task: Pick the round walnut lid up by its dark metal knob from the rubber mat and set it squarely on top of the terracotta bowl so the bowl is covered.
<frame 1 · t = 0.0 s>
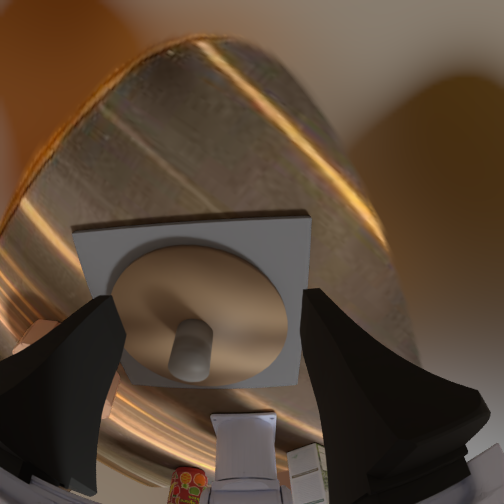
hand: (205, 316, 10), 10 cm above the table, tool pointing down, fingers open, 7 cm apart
syrup box: (309, 449, 37), on the table
mat: (196, 322, 23), on the table
smoothie: (190, 469, 41), on the table
lid: (196, 326, 23), resting on mat
bowl: (71, 362, 26), on the table
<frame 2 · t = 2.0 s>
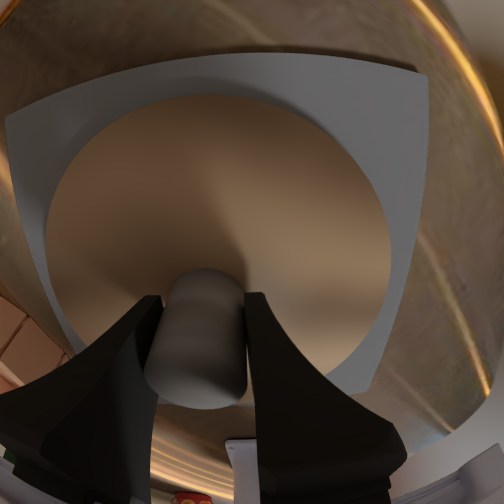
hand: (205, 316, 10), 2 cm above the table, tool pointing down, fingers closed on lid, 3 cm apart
mat: (210, 283, 12), on the table
smoothie: (193, 494, 30), on the table
lid: (209, 290, 12), resting on mat, touching gripper
bowl: (19, 357, 15), on the table
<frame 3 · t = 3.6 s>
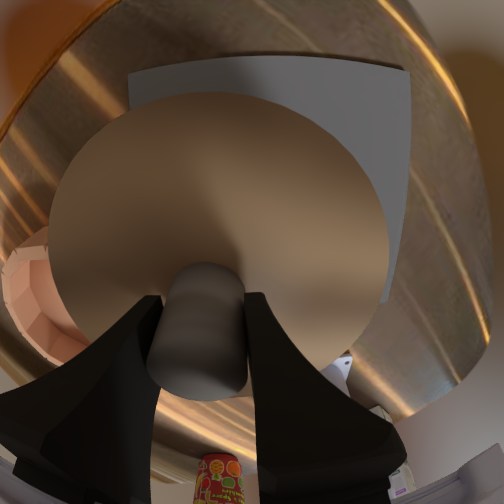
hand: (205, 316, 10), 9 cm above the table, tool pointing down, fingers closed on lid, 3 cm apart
syrup box: (367, 417, 32), on the table
mat: (280, 196, 18), on the table
smoothie: (220, 457, 36), on the table
lid: (209, 283, 12), point 7 cm above the table, touching gripper
bowl: (80, 294, 21), on the table
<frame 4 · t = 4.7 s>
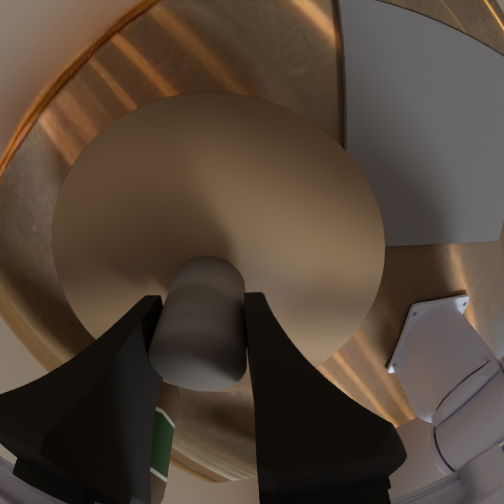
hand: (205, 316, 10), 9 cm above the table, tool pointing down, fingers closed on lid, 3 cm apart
beer bottle: (145, 380, 26), on the table
mat: (449, 132, 15), on the table
lid: (210, 278, 12), point 7 cm above the table, touching gripper
when the fingers open (7 cm above the table, at t = 5.6 s): lid stays where it is, resting on bowl.
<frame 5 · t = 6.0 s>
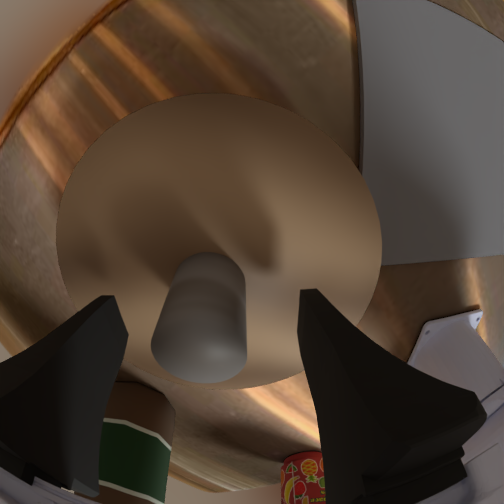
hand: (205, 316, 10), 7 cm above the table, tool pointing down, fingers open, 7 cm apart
beer bottle: (140, 400, 24), on the table
mat: (472, 137, 13), on the table
smoothie: (303, 456, 31), on the table
lid: (211, 274, 12), point 4 cm above the table, touching bowl
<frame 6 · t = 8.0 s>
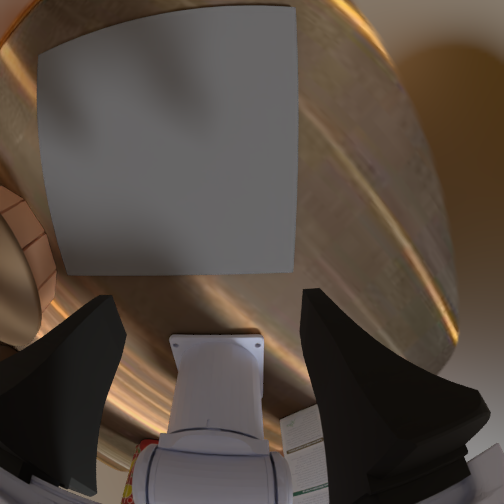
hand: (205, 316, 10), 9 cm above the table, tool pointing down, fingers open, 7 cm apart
syrup box: (309, 416, 30), on the table
mat: (151, 146, 16), on the table
smoothie: (158, 444, 34), on the table
bowl: (7, 253, 19), on the table
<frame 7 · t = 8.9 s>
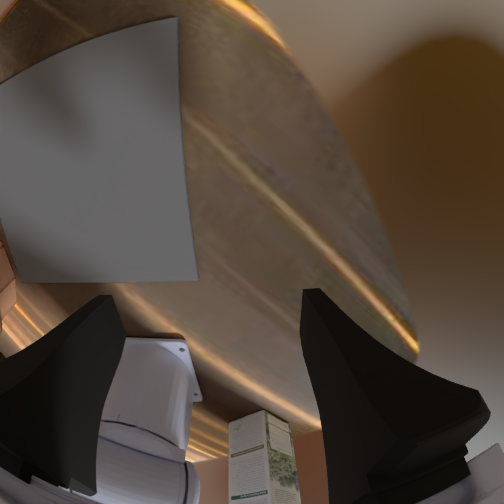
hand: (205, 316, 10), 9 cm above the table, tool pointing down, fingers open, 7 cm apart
syrup box: (259, 422, 30), on the table
mat: (66, 170, 16), on the table
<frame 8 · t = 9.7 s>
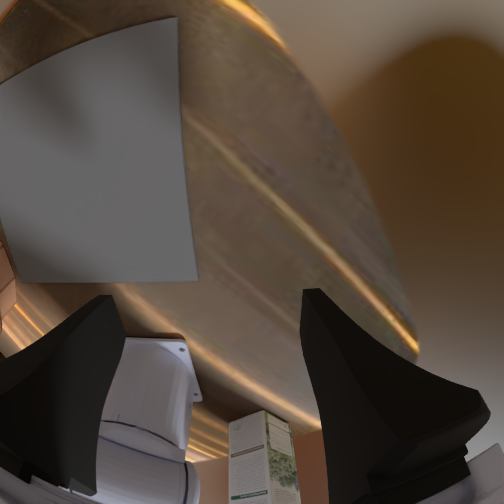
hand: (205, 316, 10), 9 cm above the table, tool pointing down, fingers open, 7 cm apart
syrup box: (259, 422, 30), on the table
mat: (66, 170, 16), on the table
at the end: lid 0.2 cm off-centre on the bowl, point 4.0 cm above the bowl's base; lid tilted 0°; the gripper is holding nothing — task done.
